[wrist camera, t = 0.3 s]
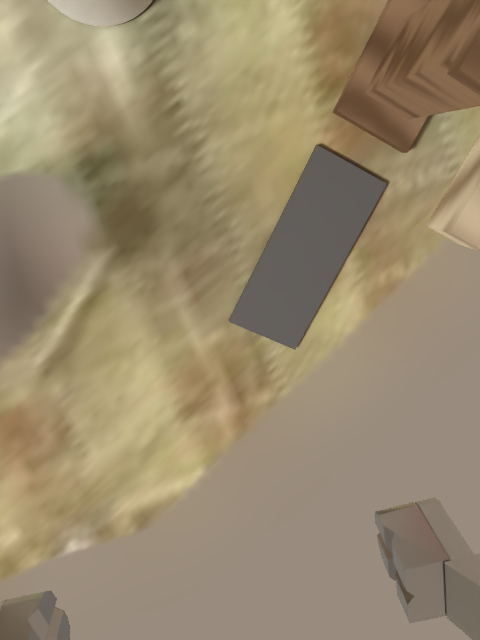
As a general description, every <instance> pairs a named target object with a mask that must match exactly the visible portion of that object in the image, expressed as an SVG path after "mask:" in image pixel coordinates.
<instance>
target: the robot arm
mask: <svg viewBox="0 0 480 640" xmlns="http://www.w3.org/2000/svg"><path fill="white" fill-rule="evenodd" d="M47 1H48V2H49V3H50V4H52V5H53V6H54V7H55V8H56V9H57V10H59V11H60V12H62V13H63V14H65V15H66V16H68V17H70V18H72V19H74V20H76V21H78V22H81V23H84V24H88V25H93V26H114V25H118V24H122V23H125V22H127V21H129V20H131V19H133V18H135V17H136V16H138V15H139V14H140V13H142V12H143V11H144V10H145V9H146V8H147V7H148V6H149V5H150V3H151V2H152V1H153V0H47ZM375 523H376V525H377V527H378V529H379V534H378V535H377V538H378V544H379V548H380V552H381V555H382V559H383V562H384V564H385V567H386V569H387V572H388V574H389V577H390V578H392V579H393V580H395V581H396V587H397V595H398V597H399V600H400V602H401V604H402V606H403V609H404V611H405V613H406V616H407V618H408V620H409V622H410V623H413V622H418V621H423V620H428V619H432V618H438V617H442V616H447V618H448V619H449V620H450V621H451V622H452V623H454V624H455V625H456V626H457V627H458V628H459V629H461V630H462V631H463V632H464V633H465V634H466V635H468V636H469V637H470V638H471V639H472V640H480V554H476V555H474V553H473V552H472V550H471V549H470V547H469V546H468V544H467V543H466V541H465V539H464V538H463V536H462V535H461V533H460V532H459V530H458V529H457V527H456V526H455V524H454V523H453V521H452V520H451V518H450V517H449V515H448V514H447V512H446V511H445V509H444V508H443V506H442V504H441V503H440V501H439V500H437V499H436V498H431V499H427V500H423V501H418V502H415V503H413V502H412V503H408V504H404V505H401V506H397V507H393V508H389V509H385V510H381V511H377V512H375ZM56 600H57V598H56V597H55V596H54V594H53V593H52V591H46V592H41V593H36V594H31V595H26V596H22V597H17V598H12V599H8V600H4V601H0V640H70V625H69V621H68V617H67V615H66V614H65V612H64V611H63V610H61V609H59V608H57V607H55V604H56Z"/></svg>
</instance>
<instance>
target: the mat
mask: <svg viewBox="0 0 480 640" xmlns="http://www.w3.org/2000/svg"><path fill="white" fill-rule="evenodd" d="M386 185H387V184H386V183H385V182H383V181H381V180H379V179H377V178H376V177H374V176H372V175H370V174H368V173H367V172H365V171H363V170H361V169H360V168H358V167H356V166H354V165H352V164H351V163H349V162H347V161H345V160H343V159H342V158H340V157H338V156H336V155H334V154H333V153H331V152H329V151H327V150H325V149H324V148H322V147H320V146H318V145H316V147H315V149H314V151H313V153H312V155H311V157H310V159H309V161H308V163H307V165H306V167H305V169H304V171H303V173H302V175H301V177H300V179H299V181H298V183H297V185H296V187H295V189H294V191H293V193H292V195H291V197H290V199H289V201H288V203H287V205H286V207H285V209H284V211H283V213H282V215H281V217H280V219H279V221H278V223H277V225H276V227H275V229H274V231H273V233H272V235H271V237H270V239H269V241H268V243H267V245H266V247H265V249H264V251H263V253H262V255H261V257H260V259H259V261H258V263H257V265H256V267H255V269H254V271H253V273H252V275H251V277H250V279H249V281H248V283H247V285H246V287H245V289H244V291H243V293H242V295H241V297H240V299H239V301H238V303H237V305H236V307H235V309H234V311H233V313H232V315H231V317H230V319H229V322H231V323H233V324H236V325H238V326H241V327H243V328H245V329H248V330H250V331H252V332H255V333H257V334H259V335H262V336H264V337H266V338H269V339H271V340H274V341H276V342H278V343H281V344H283V345H285V346H288V347H290V348H292V349H296V348H297V346H298V344H299V342H300V340H301V339H302V337H303V335H304V333H305V331H306V329H307V328H308V326H309V324H310V322H311V320H312V319H313V317H314V315H315V313H316V311H317V310H318V308H319V306H320V304H321V302H322V301H323V299H324V297H325V295H326V293H327V292H328V290H329V288H330V286H331V284H332V282H333V281H334V279H335V277H336V275H337V273H338V272H339V270H340V268H341V266H342V264H343V263H344V261H345V259H346V257H347V255H348V254H349V252H350V250H351V248H352V246H353V244H354V243H355V241H356V239H357V237H358V235H359V234H360V232H361V230H362V228H363V226H364V225H365V223H366V221H367V219H368V217H369V216H370V214H371V212H372V210H373V208H374V206H375V205H376V203H377V201H378V199H379V197H380V196H381V194H382V192H383V190H384V188H385V187H386Z"/></svg>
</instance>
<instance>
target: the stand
mask: <svg viewBox="0 0 480 640" xmlns="http://www.w3.org/2000/svg"><path fill="white" fill-rule="evenodd" d="M476 106H480V0H432V1H431V0H388V2H387V4H386V6H385V8H384V10H383V12H382V14H381V16H380V18H379V20H378V22H377V24H376V26H375V28H374V30H373V32H372V34H371V36H370V38H369V40H368V42H367V44H366V46H365V48H364V50H363V52H362V54H361V56H360V58H359V60H358V62H357V64H356V66H355V68H354V70H353V72H352V74H351V76H350V78H349V80H348V82H347V84H346V86H345V88H344V90H343V92H342V94H341V96H340V98H339V100H338V102H337V104H336V106H335V108H334V110H333V113H335V114H337V115H338V116H340V117H342V118H344V119H345V120H347V121H349V122H350V123H352V124H354V125H356V126H357V127H359V128H361V129H362V130H364V131H366V132H368V133H369V134H371V135H373V136H374V137H376V138H378V139H379V140H381V141H383V142H385V143H386V144H388V145H390V146H391V147H393V148H395V149H397V150H398V151H400V152H402V153H407V152H408V151H409V149H410V147H411V146H412V144H413V142H414V140H415V138H416V137H417V135H418V133H419V131H420V129H421V128H422V126H423V124H424V122H425V120H426V119H427V117H428V116H429V115H434V114H439V113H445V112H450V111H455V110H460V109H466V108H471V107H476Z"/></svg>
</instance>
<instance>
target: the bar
mask: <svg viewBox="0 0 480 640" xmlns="http://www.w3.org/2000/svg"><path fill="white" fill-rule="evenodd" d="M426 227H428V228H430V229H432V230H434V231H436V232H437V233H439V234H441V235H443V236H445V237H447V238H448V239H450V240H452V241H454V242H456V243H458V244H460V245H463V246H466V247H469V248H472V249H476V250H479V251H480V136H479V137H478V139H477V141H476V142H475V144H474V146H473V148H472V149H471V151H470V153H469V154H468V156H467V158H466V159H465V161H464V163H463V164H462V166H461V168H460V170H459V171H458V173H457V175H456V176H455V178H454V180H453V181H452V183H451V185H450V186H449V188H448V190H447V192H446V193H445V195H444V197H443V198H442V200H441V202H440V203H439V205H438V207H437V208H436V210H435V212H434V214H433V215H432V217H431V219H430V220H429V222H428V224H427V225H426Z"/></svg>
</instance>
